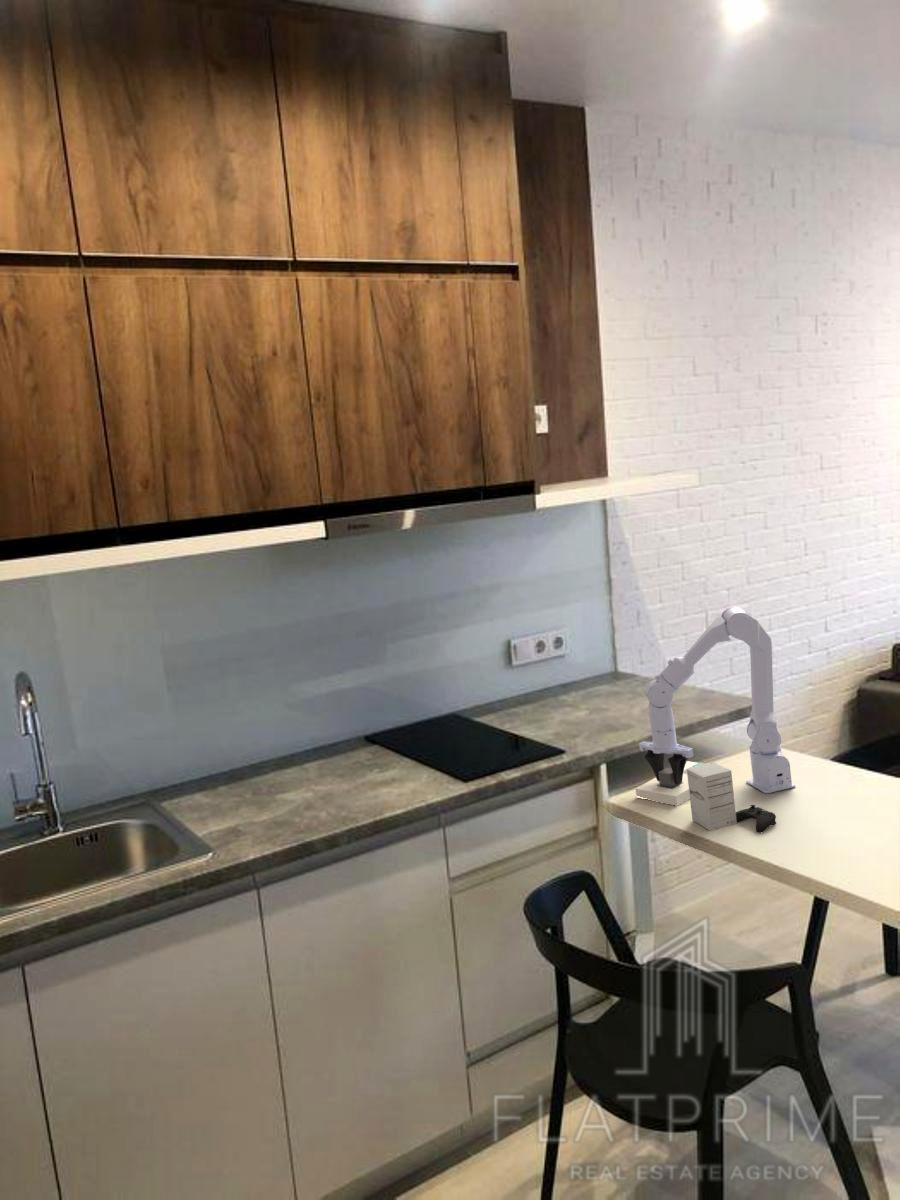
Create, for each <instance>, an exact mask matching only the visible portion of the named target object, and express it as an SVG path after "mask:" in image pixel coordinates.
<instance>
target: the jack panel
mask: <svg viewBox="0 0 900 1200" xmlns="http://www.w3.org/2000/svg"><path fill="white" fill-rule="evenodd" d="M703 764H706V763H704V762H696V761H695V762H694V761H689V760H687V762H686V764H685V767H684V771H683V777H682V782H681V783H680V785H679V786H677V787H675V788H673V789H669V788H664V787H660V781H657V778H656V777H654V778H652V779H650V780H649V781H646V782H645V783H643V784H641V785H639V786H638V787H635V796H636V795H637V796H640V797H643V798H647V799H650V800H654V801H657V802H656V803H658V802H662V803H661V804H663V803H667V804H666V805H668V804H672V805H671V806H673V805H675V806H674V807H679V806H680V804H681V805H683V804H684V803H686V802H687V801H690V794H689V785H688V777H687V769H688V768H691V767H695V766H699V765H703ZM724 767H725V768H727V766H724ZM727 769H728V768H727ZM685 801H686V802H685ZM678 805H679V806H678Z"/></svg>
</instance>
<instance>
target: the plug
mask: <svg viewBox="0 0 900 1200" xmlns="http://www.w3.org/2000/svg"><path fill="white" fill-rule="evenodd" d="M658 773H659V781H660V787H664V788H669V789H673V788H675V787H677V786H679V785H680V784H678V785H676V784H675V782H674V777H673V771H672V768H671V767H670V768H669V767H666V768H665V767H664V769H663V770H662V771H660V772H658Z"/></svg>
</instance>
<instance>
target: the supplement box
mask: <svg viewBox="0 0 900 1200" xmlns="http://www.w3.org/2000/svg"><path fill="white" fill-rule="evenodd" d="M725 767H726V766H723V765H721V764H719V763H716V762H715V761H711V762H707V763H705V764H703V765H699V766H695V767H691V768H688V769H687V777H688V785H689V794H690V799H689V802H690V810H691V817H692V818H691V819H692V821H693V822H695V823H696V824H699V825H700V826H702V827H704V828H705V829H707V830H708V831H709V830H711V831H714V830H718V829H721V828H720V827H722V828H725V826H726V827H728V826H732V825H736V824H738V823H737V820H736V812H737V811H736V803H735V794H734V793H735V792H734V784H733V773H732V769H729V768H725ZM717 828H718V829H717ZM713 829H714V830H713Z"/></svg>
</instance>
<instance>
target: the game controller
mask: <svg viewBox="0 0 900 1200" xmlns="http://www.w3.org/2000/svg"><path fill="white" fill-rule="evenodd" d="M776 818H777V815H776V814H775V813H774V812H772V811H769V810H766V809H764V808H762V807H759V806H756V805H755V804H750V806H749V807H748V808H743V809H741V810H737V811H736V820H737V823H736V824H738V823H743V822H745V821H747V820H751V819H753V820H755V832H756V833H757V834H761V832H762V833H764V832H765V831H767V830H768V829H769V828H770V827H771V825H774V826H775V825H776V824H777V822H776Z"/></svg>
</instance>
